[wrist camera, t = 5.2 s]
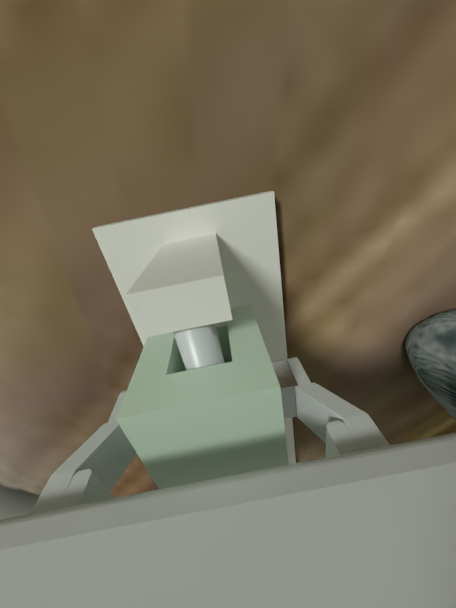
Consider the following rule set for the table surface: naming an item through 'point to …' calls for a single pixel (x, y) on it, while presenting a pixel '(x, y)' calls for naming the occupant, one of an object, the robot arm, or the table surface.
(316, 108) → the table surface
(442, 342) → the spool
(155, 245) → the stand
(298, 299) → the table surface
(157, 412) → the sleeve
